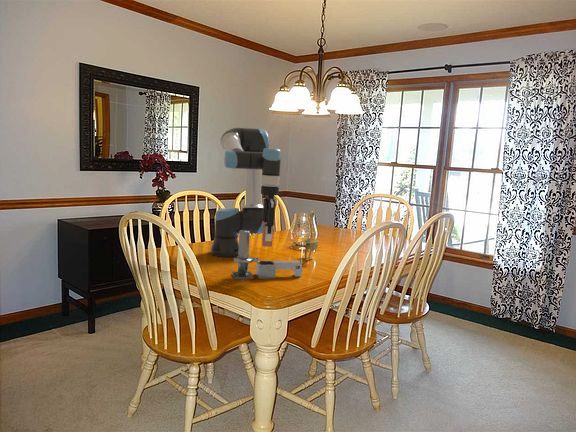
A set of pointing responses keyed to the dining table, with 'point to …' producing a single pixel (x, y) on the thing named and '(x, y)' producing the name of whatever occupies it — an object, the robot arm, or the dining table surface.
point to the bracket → (269, 268)
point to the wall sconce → (310, 240)
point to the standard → (243, 257)
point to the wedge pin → (264, 243)
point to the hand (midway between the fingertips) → (267, 239)
